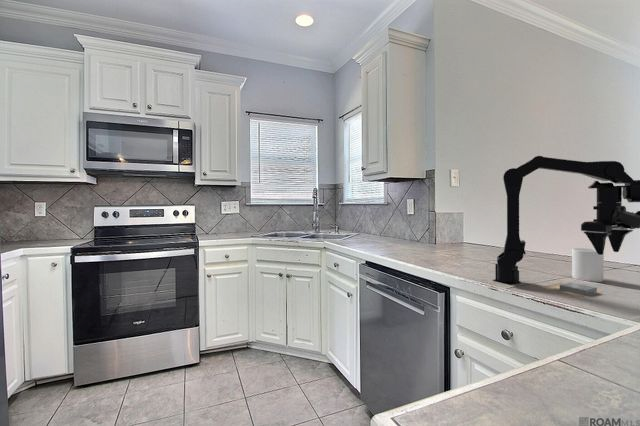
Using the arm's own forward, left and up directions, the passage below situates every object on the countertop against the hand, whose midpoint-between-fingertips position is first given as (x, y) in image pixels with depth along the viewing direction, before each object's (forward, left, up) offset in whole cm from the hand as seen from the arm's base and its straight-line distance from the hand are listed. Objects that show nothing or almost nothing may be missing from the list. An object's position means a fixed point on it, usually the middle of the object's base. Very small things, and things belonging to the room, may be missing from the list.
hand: (608, 253), depth 98 cm
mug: (-12, +13, -12) cm, 21 cm away
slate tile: (-4, -6, -11) cm, 13 cm away
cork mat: (-6, -8, -12) cm, 16 cm away
